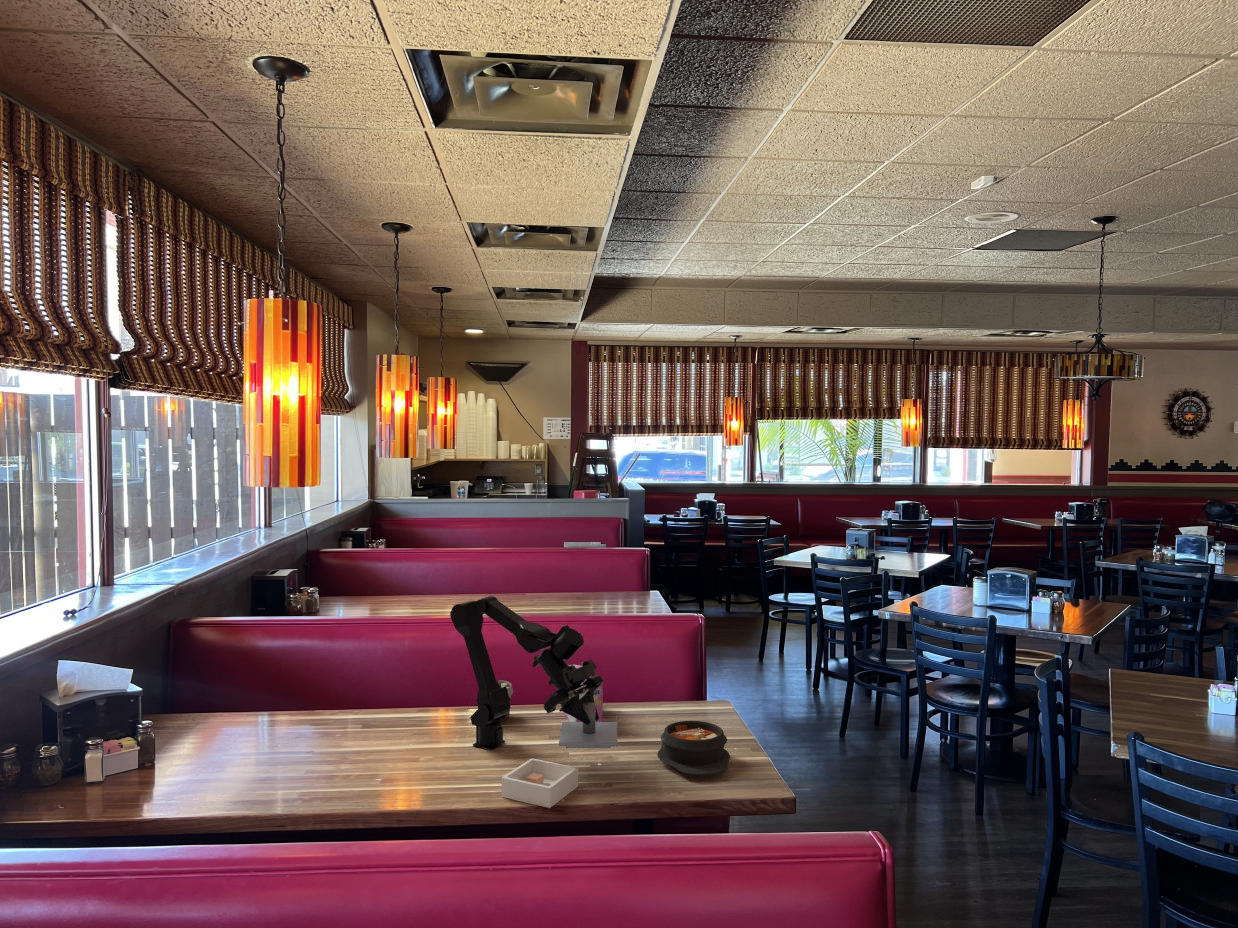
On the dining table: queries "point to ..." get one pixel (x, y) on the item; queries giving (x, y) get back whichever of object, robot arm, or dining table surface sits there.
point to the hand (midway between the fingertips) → (593, 721)
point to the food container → (510, 691)
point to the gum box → (597, 699)
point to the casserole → (694, 748)
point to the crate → (540, 782)
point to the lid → (588, 732)
